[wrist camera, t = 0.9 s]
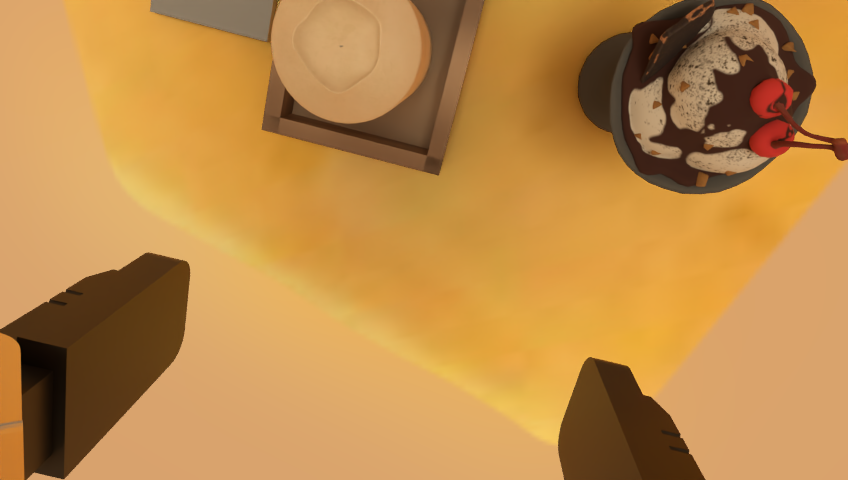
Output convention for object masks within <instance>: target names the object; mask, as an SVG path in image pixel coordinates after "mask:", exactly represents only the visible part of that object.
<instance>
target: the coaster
mask: <svg viewBox="0 0 848 480" xmlns="http://www.w3.org/2000/svg"><path fill="white" fill-rule="evenodd" d="M276 5H277V0H151V8H150V11H151V12H155V13H158V14H162V15H166V16H170V17H174V18H178V19H181V20H185V21H189V22H193V23H197V24H201V25H204V26H208V27H212V28H216V29H220V30H224V31H227V32H231V33H235V34H239V35H243V36H247V37H250V38H254V39H258V40H262V41H266V42H271V31H272V24H273V20H274V16H275V12H276Z"/></svg>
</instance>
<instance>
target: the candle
mask: <svg viewBox="0 0 848 480" xmlns="http://www.w3.org/2000/svg"><path fill="white" fill-rule="evenodd" d="M271 49H272V56H273V61H274V64H275V67H276V70H277V73H278V75H279V77H280V79H281V81H282V83H283V85H284V86H285V88H286V89H287V91H288V92H289V93H290V95H291V96H292V97H293V98H294V99H295V100H296V101H297V102H298V103H299V104H300V105H301V106H302V107H304V108H305V109H306V110H308V111H309V112H311V113H313V114H314V115H316V116H318V117H321V118H323V119H325V120H329V121H333V122H337V123H345V124H351V123H361V122H366V121H370V120H373V119H376V118H378V117H380V116H382V115H384V114H385V113H387V112H389V111H390V110H392V109H393V108H394V107H396V106H397V105H398V104H400V103H401V102H402V101H404V100H405V99H406V98H408V97H409V96H410V95H411V94H413V93H414V92H415V91H416V90H417V88H418V87H419V86H420V85H421V83H422V82H423V81H424V79H425V77H426V75H427V73H428V70H429V67H430V64H431V59H432V39H431V34H430V31H429V28H428V25H427V23H426V21H425V19H424V17H423V15H422V14H421V12H420V11H419V10H418V8H417V7H416V6H415V5H414V4H413V3H412V2H411V0H281V1H280V3H279V6H278V8H277V10H276V13H275V16H274V20H273V24H272V31H271Z"/></svg>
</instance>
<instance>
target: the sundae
mask: <svg viewBox="0 0 848 480" xmlns="http://www.w3.org/2000/svg"><path fill="white" fill-rule="evenodd" d="M815 87H816V80H815V78H814V76H813V72H812V68H811V64H810V60H809V56H808V53H807V50H806V48H805V46H804V43H803V41H802V39H801V37H800V36H799V34H798V33H797V32H796V30H795V29H794V27H793V26H792V25H791V24H790V22H789V21H788V20H787V19H786V18H785V17H784V16H783V15H782V14H781V13H780V12H779V11H778V10H776V9H775V8H774V7H773V6H772V5H770V4H768V3H766V2H764V1H762V0H684V1H681V2H678V3H676V4H674V5H672V6H669V7H667V8H665V9H663V10H661V11H659V12H658V13H657V14H655V15H654V16H652V17H651V18H650V19H648V20H647V21H646V22H641V23H639V24H637V25H636V26H634V27H633V30H632V32H630V33H622V34H619V35H616V36H614V37H611V38H609V39H607V40H606V41H604V42H602V43H601V44H600V45H599V46H598V47H597V48H595V49H594V50H593V52H592V53H591V54H590V55H589V56H588V57H587V59H586V61H585V63H584V65H583V67H582V70H581V73H580V76H579V83H578V97H579V100H580V103H581V106H582V108H583V110H584V113H585V115H586V116H587V117H588V118H589V119H590V120H591V121H592V122H593V123H594V124H595V125H596V126H598V127H599V128H601V129H603V130H606V131H608V132H611V133H612V134H613V139H614V142H615V145H616V147H617V150H618V153H619V154H620V156H621V157H622V159H623V160H624V162H625V163H626V165H627V166H628V167H629V168H630V169H631V170H632V171H633V172H634V173H635V174H637V175H638V176H640V177H641V178H643V179H644V180H646V181H647V182H649V183H651V184H654V185H656V186H659V187H661V188H664V189H667V190H671V191H675V192H678V193H682V194H706V193H716V192H721V191H724V190H726V189H729V188H732V187H734V186H737V185H739V184H741V183H743V182H745V181H747V180H749V179H750V178H752V177H753V176H754V175H756V174H757V173H758V172H760V171H761V170H762V169H764V168H765V167H766V166H767V165H768V164H769V163H770V162H771V161H773V160H774V159H775V158H776V157H777V156H779V155H781V154H783V153H785V152H786V151H787V150H788V149H789V148H790V147H801V148H814V149H830V150H832V151H834V153H835V156H836V157H837V159H838V160H841V161H844V160H847V159H848V143H847V141H846V139H844V138H837V139H834V138H829V137H823V136H819V135H814V134H811V133H809V132H807V131H805V130H804V129H803V128H802V127H800V126H801V124H802V122H803V120H804V119H805V117H806V115H807V113H808V108H809V104H810V100H811V95H812V93H813V91H814V89H815ZM797 131H799V132H800V133H802V134H803V135H805V136H808V137H811V138H814V139H817V140H821V141H825V142H828V143H832V144H833V145H826V144H811V143H804V142H796V141H794V136H795V134H796V133H797Z"/></svg>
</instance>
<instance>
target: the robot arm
mask: <svg viewBox="0 0 848 480" xmlns="http://www.w3.org/2000/svg"><path fill="white" fill-rule="evenodd" d="M189 280H190V267H189V264H188V263H187V262H186V261H183V260H179V259H174V258H170V257H166V256H162V255H157V254H153V253H145V254H144V255H142V256H140V257H139V258H137V259H136V260H134V261H133V262H131V263H130V264H128V265H127V266H125V267H123V268H122V269H120V270H119V271H117V270H110V271H107V272H103V273H99V274H96V275H92V276H89V277H86V278H84V279H82V280H81V281H79V282H77V283H76V284H74V285H73V286H71V287H69V288H68V289H66V292H61V293H59V294H58V295H56V296H55V297H53V298H51V299H50V301H49V303H48V302H45V303H43V304H41V305H40V306H38V307H36V308H35V309H33V310H32V311H30V312H28V313H27V314H25V315H23V316H22V317H20V318H18V319H17V320H15V321H13V322H12V323H10V324H9V325H7V326H6V327H4V328H2V329H0V480H27V479H28V478H29V477H30V475H32V473H34V472H35V473H39V474H44V475H47V476H52V477H56V478H61V479H65V477H67V475H68V474H69V473H70V472H71V471H72V470H73V469H74V468H75V467H76V465H78V464H79V462H80V461H81V460H82V459H83V458H84V457H85V456H86V455H87V454H88V453H89V452H90V451H91V449H93V447H94V446H95V445H96V444H97V443H98V442H99V441H100V440H101V439H102V438H103V437H104V436H105V435H106V433H107V432H108V431H109V430H110V429H111V428H112V427H113V426H114V425H115V424H116V423H117V422H118V421H119V419H120V418H121V417H122V416H123V415H124V414H125V413H126V412H127V410H129V409H130V408H131V406H132V405H133V404H134V403H135V402H136V401H137V400H138V399H139V398H140V397H141V396H142V395H143V393H144V392H145V391H146V390H147V389H148V388H149V387H150V386H151V385H152V384H153V383H154V382H155V381H156V380H157V379H158V377H159V376H160V375H161V374H162V373H163V372H164V371H165V370H166V369H167V368H168V367H169V366H170V364H171V363H172V362H173V361H174V359H175V358H176V356H177V354H178V352H179V349H180V347H181V344H182V341H183V337H184V331H185V321H186V311H187V301H188V290H189ZM558 451H559V457H560V462H561V466H562V471H563V475H564V480H705V478H704V476H703V475H702V473H701V471H700V469H699V467H698V466H697V464H696V462H695V460H694V458H693V456H692V455H691V454H689V449H688V447H687V446H686V444H685V442H684V440H683V439H682V438H680V433H679V431H678V429H677V427H676V426H675V424H674V422H673V420H672V418H671V417H670V415H669V414H668V413H667V412H666V411H665V410H664V409H663V408H662V407H661V406H660V405H659V404H657V403H656V402H655V401H654V400H653V399H652V398H651V397H649V396H645V395H643V394H642V392H641V390H640V388H639V386H638V384H637V382H636V380H635V378H634V376H633V374H632V372H631V370H630V368H629V367H628V366H625V365H621V364H617V363H613V362H608V361H604V360H600V359H596V358H591V357H589V358H588V359H587V360H586V361H585V362H584V364H583V366H582V368H581V371H580V374H579V377H578V379H577V382H576V385H575V388H574V390H573V393H572V396H571V399H570V401H569V404H568V407H567V410H566V413H565V415H564V418H563V421H562V424H561V428H560V433H559V441H558Z"/></svg>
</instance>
